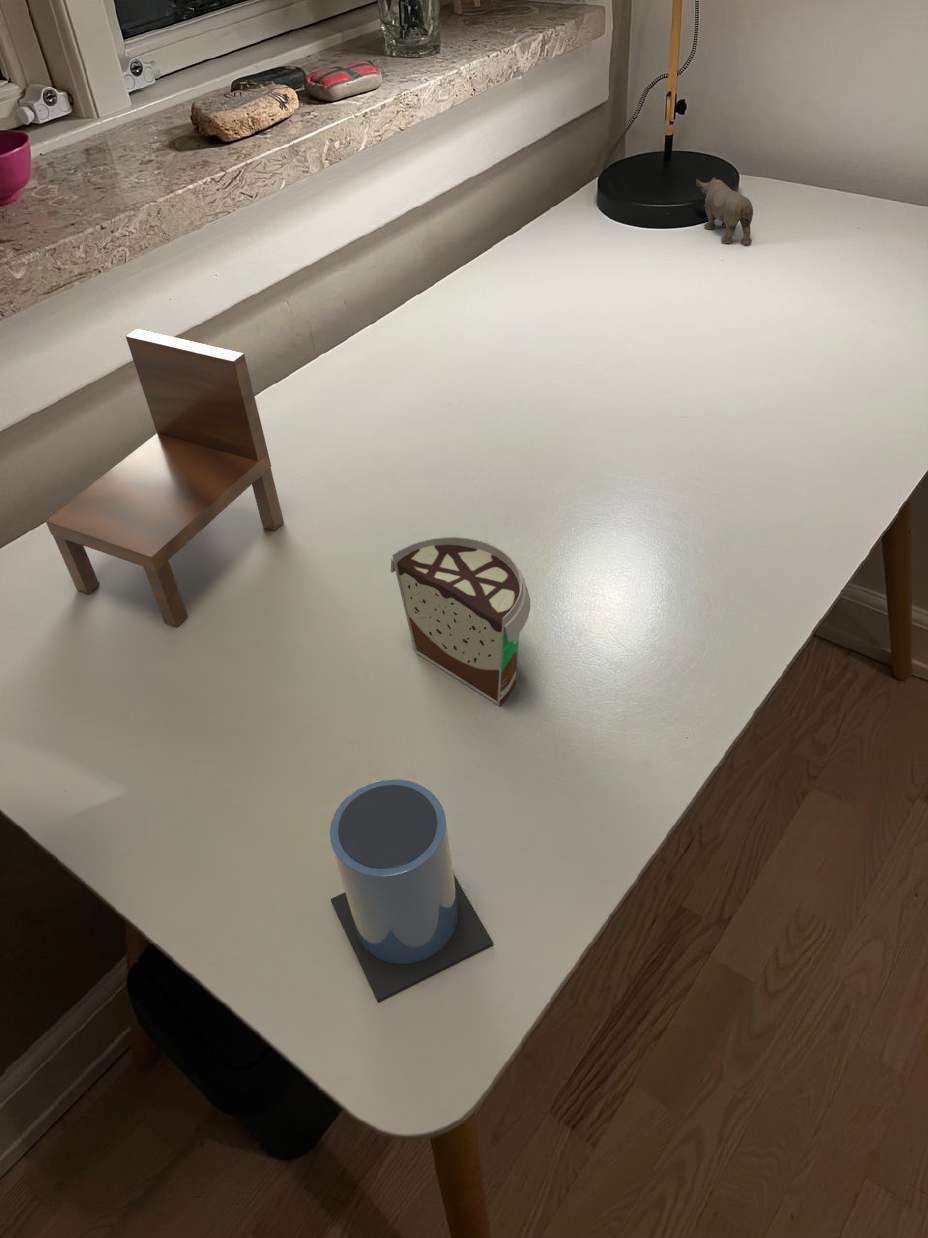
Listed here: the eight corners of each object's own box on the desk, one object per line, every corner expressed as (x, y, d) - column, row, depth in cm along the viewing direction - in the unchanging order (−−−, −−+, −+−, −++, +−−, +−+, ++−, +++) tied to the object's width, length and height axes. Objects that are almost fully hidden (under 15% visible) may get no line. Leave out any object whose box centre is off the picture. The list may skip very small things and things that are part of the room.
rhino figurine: (707, 206, 145) (711, 162, 141) (757, 243, 135) (763, 197, 131) (681, 212, 144) (684, 168, 140) (729, 250, 134) (734, 204, 130)
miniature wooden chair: (177, 628, 89) (113, 454, 76) (75, 590, 93) (0, 420, 81) (285, 522, 99) (244, 353, 86) (188, 492, 103) (136, 328, 91)
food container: (564, 670, 82) (564, 576, 75) (514, 716, 79) (508, 621, 72) (452, 604, 88) (443, 512, 82) (401, 644, 85) (387, 551, 79)
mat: (378, 1003, 63) (377, 1000, 63) (331, 901, 68) (330, 898, 68) (493, 945, 65) (493, 942, 65) (439, 851, 71) (438, 848, 70)
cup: (339, 952, 65) (312, 863, 58) (373, 862, 70) (352, 769, 63) (442, 974, 64) (426, 886, 57) (470, 881, 68) (459, 788, 61)
